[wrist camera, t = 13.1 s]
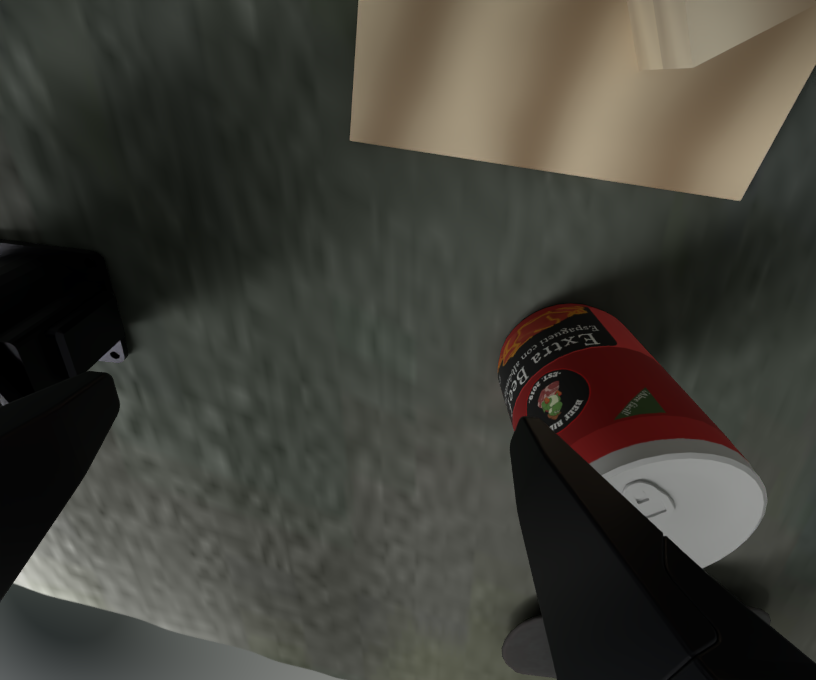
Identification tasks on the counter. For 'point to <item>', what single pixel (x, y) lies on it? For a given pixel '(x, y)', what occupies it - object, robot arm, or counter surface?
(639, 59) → the slab bottom
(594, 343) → the canned food
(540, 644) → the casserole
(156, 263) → the counter surface
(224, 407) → the counter surface
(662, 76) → the beige square cloth
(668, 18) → the slab top
